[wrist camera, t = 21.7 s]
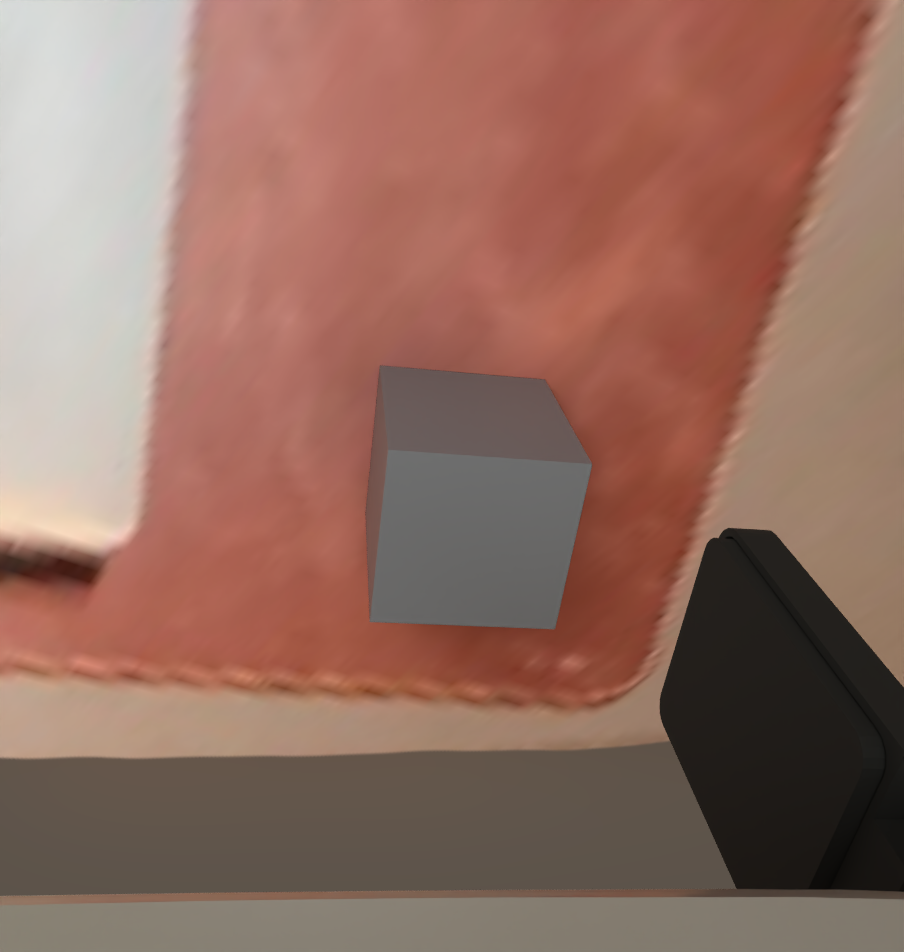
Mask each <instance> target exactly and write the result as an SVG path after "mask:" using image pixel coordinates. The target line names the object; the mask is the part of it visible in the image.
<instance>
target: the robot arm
mask: <svg viewBox="0 0 904 952" xmlns="http://www.w3.org/2000/svg"><path fill="white" fill-rule="evenodd" d="M660 715H661V720H662V723H663V726H664V728H665V730H666V732H667V735H668V737H669V739H670V741H671V744H672V746H673V748H674V750H675V752H676V755H677V757H678V759H679V761H680V764H681V766H682V768H683V770H684V772H685V775H686V777H687V779H688V781H689V783H690V786H691V788H692V790H693V793H694V795H695V797H696V799H697V802H698V804H699V806H700V808H701V810H702V813H703V815H704V817H705V819H706V821H707V824H708V826H709V828H710V830H711V833H712V835H713V837H714V839H715V842H716V844H717V846H718V848H719V850H720V853H721V855H722V857H723V859H724V862H725V864H726V866H727V868H728V871H729V873H730V875H731V877H732V879H733V882H734V884H735V886H736V888H737V889H635V890H634V889H629V890H628V889H625V890H624V889H622V890H621V889H619V890H618V889H617V890H616V889H614V890H451V891H450V890H449V891H446V890H445V891H340V892H338V891H337V892H243V893H173V894H172V893H170V894H105V895H42V896H40V895H39V896H0V952H904V687H903V686H902V685H901V684H900V683H899V681H898V680H897V679H896V678H895V677H894V675H893V674H892V673H891V672H890V671H889V669H888V668H887V667H886V666H885V665H884V664H883V662H882V661H881V660H880V659H879V658H878V656H877V655H876V654H875V653H874V652H873V650H872V649H871V648H870V647H869V646H868V644H867V643H866V642H865V641H864V640H863V638H862V637H861V636H860V635H859V634H858V632H857V631H856V630H855V629H854V628H853V626H852V625H851V624H850V623H849V622H848V620H847V619H846V618H845V617H844V616H843V614H842V613H841V612H840V611H839V610H838V608H837V607H836V606H835V605H834V604H833V602H832V601H831V600H830V599H829V598H828V597H827V595H826V594H825V593H824V592H823V591H822V589H821V588H820V587H819V586H818V585H817V583H816V582H815V581H814V580H813V579H812V577H811V576H810V575H809V574H808V573H807V571H806V570H805V569H804V568H803V567H802V565H801V564H800V563H799V562H798V561H797V559H796V558H795V557H794V556H793V555H792V553H791V552H790V551H789V550H788V549H787V547H786V546H785V545H784V544H783V543H782V541H781V540H780V539H779V538H778V537H777V535H776V534H774V533H773V532H772V531H768V530H754V529H737V528H727V529H726V530H724V531H723V532H722V533H721V535H720V536H719V538H713V539H711V540H710V541H709V542H708V543H707V545H706V548H705V551H704V554H703V557H702V561H701V564H700V567H699V570H698V574H697V577H696V580H695V584H694V587H693V590H692V594H691V597H690V600H689V603H688V607H687V610H686V613H685V617H684V620H683V623H682V626H681V630H680V633H679V636H678V640H677V643H676V646H675V650H674V653H673V656H672V659H671V663H670V666H669V669H668V673H667V676H666V679H665V683H664V686H663V689H662V692H661V697H660Z"/></svg>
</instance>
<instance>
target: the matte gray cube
mask: <svg viewBox="0 0 904 952" xmlns="http://www.w3.org/2000/svg"><path fill="white" fill-rule="evenodd" d="M591 467H592V463H591V461H590V459H589V458H588V456H587V454H586V452H585V450H584V449H583V447H582V445H581V443H580V441H579V440H578V438H577V436H576V434H575V433H574V431H573V429H572V427H571V425H570V424H569V422H568V420H567V418H566V417H565V415H564V413H563V411H562V409H561V408H560V406H559V404H558V402H557V400H556V399H555V397H554V395H553V393H552V392H551V390H550V388H549V386H548V384H547V383H546V381H545V380H543V379H531V378H520V377H508V376H496V375H484V374H473V373H461V372H449V371H438V370H426V369H414V368H403V367H391V366H380V369H379V379H378V389H377V400H376V410H375V420H374V430H373V440H372V451H371V461H370V471H369V481H368V492H367V502H366V512H365V515H366V540H367V565H368V590H369V615H370V622H385V623H410V624H435V625H461V626H486V627H511V628H536V629H555V627H556V622H557V618H558V614H559V609H560V605H561V600H562V596H563V591H564V587H565V583H566V578H567V574H568V569H569V565H570V560H571V556H572V552H573V547H574V543H575V538H576V534H577V529H578V525H579V521H580V516H581V512H582V507H583V503H584V498H585V494H586V490H587V485H588V481H589V476H590V472H591Z"/></svg>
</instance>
